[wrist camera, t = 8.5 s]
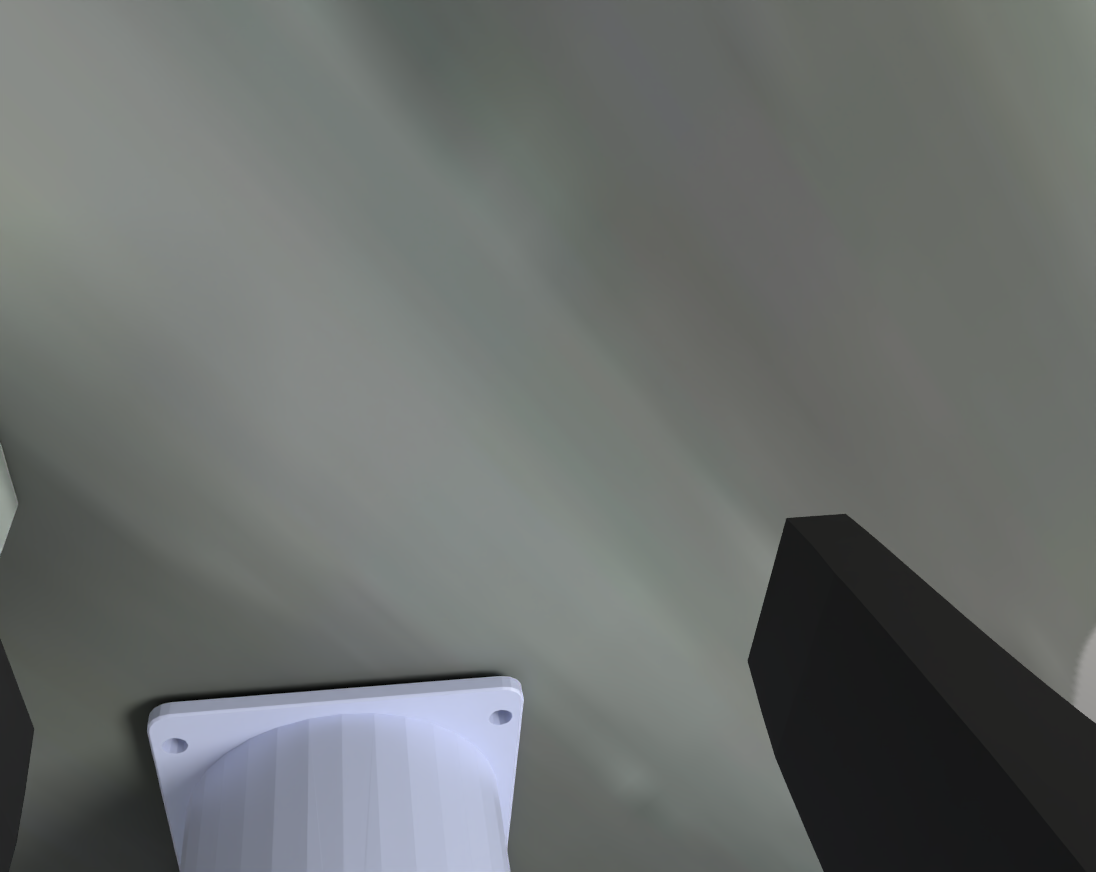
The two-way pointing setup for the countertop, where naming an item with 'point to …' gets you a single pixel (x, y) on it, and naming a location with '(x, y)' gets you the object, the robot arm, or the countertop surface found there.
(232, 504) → the countertop surface
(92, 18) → the countertop surface
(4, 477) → the tray
